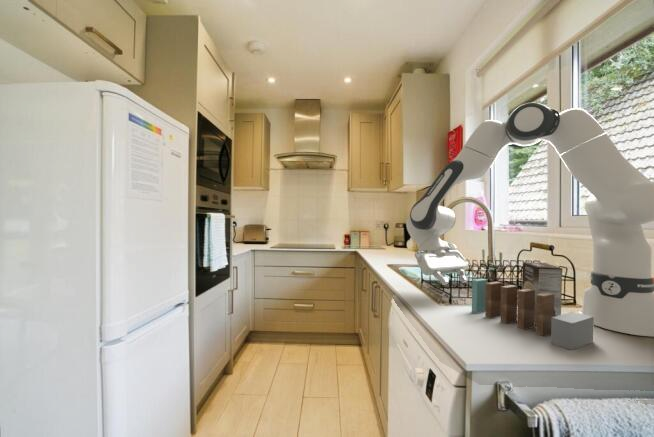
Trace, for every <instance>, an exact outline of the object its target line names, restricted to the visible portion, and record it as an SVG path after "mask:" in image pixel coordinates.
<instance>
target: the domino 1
mask: <svg viewBox="0 0 654 437" xmlns="http://www.w3.org/2000/svg"><path fill="white" fill-rule="evenodd" d="M471 283H472V284H471V313H473V314H481V313H485V308H486V283H489V282H488V279H487V278H476V279H472V282H471Z"/></svg>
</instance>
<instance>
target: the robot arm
mask: <svg viewBox="0 0 654 437" xmlns="http://www.w3.org/2000/svg"><path fill="white" fill-rule="evenodd" d="M541 141H545V142H548V143H549V144H550V145H552V147H554V149H555V151H556V153H557V154H558V156H559V158H560V159H561V160H562V162H563V163H564V165H565V167H566V169H568V171H569V172H570V174H571V175H572V177H573V179H575V180H576V181H578V182H579V183H580V184H581V185H582V186H583V187H584V188H586V190H587V191H589V193H590V195H589V196H588V197H587V198H586V200H585V202H584V211H585V213H586V215H587V217H588V223H589V224H588V225H589V229H590V234H591V239H592V246H593V253H592V255H593V256H592V257H593V258H592V263H593V264H592V271H591V272H590V276H589V277H590V284H591V285H590V287H588V288H585V289H584V292H583V293H584V294H583V300H582V301H583V303H582V310H581V311H580V310H579V311H578V310H577V311H576V313H580V314H584V315H588V316H592V317H594V323H593V326H596V327H600V328H603V329H606V330H610V331H614V332H616V333H617V332H619V333H623V334H629V335H632V336H633V335H634V336H640V337H641V336H642V337H652V338H653V337H654V276H652V259H653V258H652V253H653V252H652V251H653V250H652V246H651V245H650V244H649V242H648V241H647V238H646V237H645V234H644V230H643V227H642V226H643V225H645V224H648V223H652V222H654V182H653V181H651V180H650V179H649V178H648V177H646V176H645V175H644V174H643V173H642V172H641V171H639V170H638V169H637V168H636V167H635V166H634V165H633V164H631V163H630V162H629V160H628V159H627V158H625V157H624V156H623V154H622V153H621V152H620V150H619V149H618V147H617V146H616V145H615V143H614V142H613V141H612V139H611V138H610V136H609V135H608V134H607V131H606V130H605V129H604V128H603V127H602V125H601V124H600V123H599V122H598V121H597V119H595V118H594V117H593V116H592V115H591V114H590V113H589V112H588V111H586V110H585V109H583V108H579V107H574V108H570V109H566V110H563V111H562V112H560V111H559V110H557V109H554V108H552V107H550V106H546V105H544V104H542V103H539V102H538V103H537V102H527V103H524V104H521V105H519V106H518V107H517V108H515V109H514V110H513V111H512V112H510V115H509V116H508V118H507V120H506V121H499V120H494V119H488V120H484V121H481V123H480V124H479V125H478V126H477V127H476V128H475V129H474V131H473V132H472V133H471V135H470V136H469V138H468V139H467V140H466V142H465V144H464V145H463V147H462V148H461V150H460V151H459V153H458V154H457V156H456V157H455V158H454V159H453V160H452V161H450V162H449V163H448V164H446V165H445V166H444V167H443V169H442V170H441V171H440V173H439V174H438V175H437V176H436V178H435V179H434V181H433V182H432V183H431V185H430V186H429V187H428V189H427V190H426V191H425V193H424V195H423V196H422V197H421V198H419V199H418V200H417V201H416V202H415V203H414V204H413V206H412V207H411V208H410V212H409V217H408V218H407V219H406V223H405V225H406V230H407V232H408V235H409V236H410V238H411V240H412V241H413V243H415V244H416V245H417V248H418V250H417V251H415V253H414V257H415V259H416V263H417V265H418V267H419V269H420V271H421V272H422V274H423V275H424V276H433V277H434V279H436V280H438V281H439V282H440V283H441V285H442V286H445V285H448V284H449V279H448V278H447V277H444V276H443V275H444V274H455V273H456V274H457V275H459V280H460V282H461V283H462V284H463V283H467V282H468V277H467V276H466V273H465V272H466V271H467V269H469V263H468V261H467V260H466V258H465V257H464V255H462V253H461V252H460V251H459V250H457V249H458V247H457V245H456V244H454V243H452V242H451V243H450V242H449V241H448V242H447V241H445V240H442V239H441V236H442V235H445V234H446V233H448V232H449V231H450V230H452V229H453V228H454V226H455V224H456V220H457V219H456V218H457V217H456V214H455V212H454V211H453V210H452V209H451V208H449V207H447V206H443V205H441V203H442V202H443V201H444V200H445V198H446V197H447V195H448V194H449V193H450V191H451V190H452V189H453V188H454V187H455V186H456V185H457V184H459V183H462V182H465V181H469V180H470V181H471V180H477V179H479V178H482V177H484V175H486V173H487V172H488V171H489V170H490V169H491V168H492V166H493V165H494V163H495V161H497V158H499V157H498V156H499V155H500V153H501V152H502V151H503V150H504V149H505V148H506V147H514V148H515V147H517V148H528V147H529V148H530V147H533V146H535V145H537V144H539V143H540V142H541Z"/></svg>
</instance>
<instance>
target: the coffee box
mask: <svg viewBox="0 0 654 437" xmlns="http://www.w3.org/2000/svg"><path fill="white" fill-rule="evenodd" d="M521 277H522V279H521V280H522V282H521V288H522V289H521V290H523V289H528V288H529V289H533V290H535V318H534V324H536V297H537V294H542V293H552V294H554V317H555V316H559V315H562V294H563V292H562V291H563V290H562V289H563V287H562V286H563V268H562V267H560V266H557V265H553V264H550V263H546V262H532V261H531V262H529V261H523V262H522V276H521Z"/></svg>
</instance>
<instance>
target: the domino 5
mask: <svg viewBox="0 0 654 437" xmlns="http://www.w3.org/2000/svg"><path fill="white" fill-rule="evenodd" d="M552 317H554V294H552V293H542V294H537V297H536V323H535V335H537V336H541V337H545V336H549V335H551V319H552Z"/></svg>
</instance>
